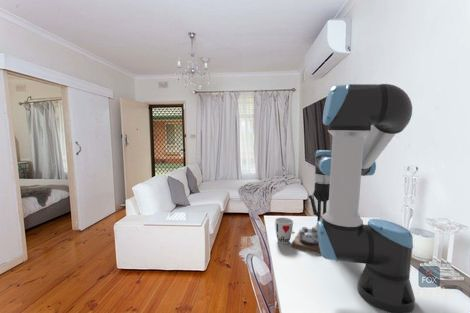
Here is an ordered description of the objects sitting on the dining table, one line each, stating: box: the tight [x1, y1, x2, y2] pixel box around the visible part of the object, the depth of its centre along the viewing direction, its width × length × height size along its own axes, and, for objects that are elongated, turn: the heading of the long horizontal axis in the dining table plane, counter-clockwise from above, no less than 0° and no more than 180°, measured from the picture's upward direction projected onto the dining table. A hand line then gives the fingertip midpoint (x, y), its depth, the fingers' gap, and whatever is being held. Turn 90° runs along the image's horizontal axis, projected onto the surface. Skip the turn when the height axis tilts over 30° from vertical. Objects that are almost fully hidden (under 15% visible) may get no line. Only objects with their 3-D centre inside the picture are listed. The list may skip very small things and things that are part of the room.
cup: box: [274, 217, 294, 245], centre depth 112 cm, size 8×8×10 cm
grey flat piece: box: [298, 224, 319, 246], centre depth 113 cm, size 20×11×4 cm, turn 146°
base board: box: [291, 232, 321, 255], centre depth 110 cm, size 14×14×2 cm
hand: (321, 229), depth 118 cm, fingers closed
